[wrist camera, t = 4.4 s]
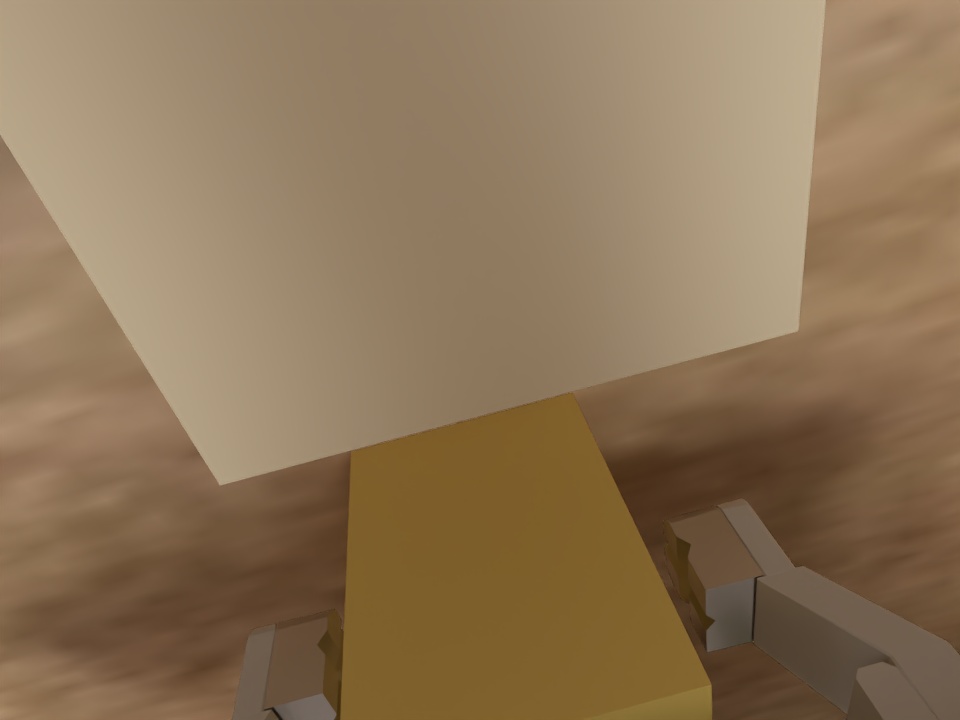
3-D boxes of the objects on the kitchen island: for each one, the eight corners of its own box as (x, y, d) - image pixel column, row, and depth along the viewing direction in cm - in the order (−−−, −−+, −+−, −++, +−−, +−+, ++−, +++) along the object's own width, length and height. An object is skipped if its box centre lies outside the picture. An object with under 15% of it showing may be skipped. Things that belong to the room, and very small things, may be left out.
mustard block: (571, 391, 12) (711, 684, 7) (596, 540, 15) (713, 836, 10) (350, 450, 12) (337, 786, 7) (412, 590, 15) (434, 912, 10)
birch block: (528, -241, 7) (886, -718, 2) (577, 144, 10) (797, 330, 5) (154, -145, 7) (-340, -409, 2) (298, 218, 10) (219, 485, 5)
